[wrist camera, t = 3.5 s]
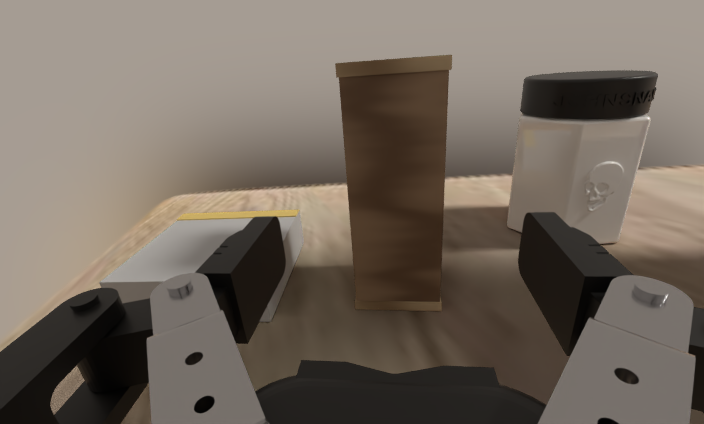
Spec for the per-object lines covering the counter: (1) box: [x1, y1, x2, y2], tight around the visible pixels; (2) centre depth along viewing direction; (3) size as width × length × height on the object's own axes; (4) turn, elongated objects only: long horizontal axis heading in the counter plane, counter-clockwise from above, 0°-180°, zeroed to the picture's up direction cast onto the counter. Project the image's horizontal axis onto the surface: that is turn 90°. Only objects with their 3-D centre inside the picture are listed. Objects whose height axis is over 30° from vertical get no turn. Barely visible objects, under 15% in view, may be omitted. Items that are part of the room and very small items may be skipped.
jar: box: [507, 71, 658, 244], centre depth 28 cm, size 9×8×12 cm
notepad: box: [99, 210, 304, 322], centre depth 25 cm, size 10×10×3 cm
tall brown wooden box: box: [335, 55, 452, 311], centre depth 21 cm, size 5×5×14 cm
